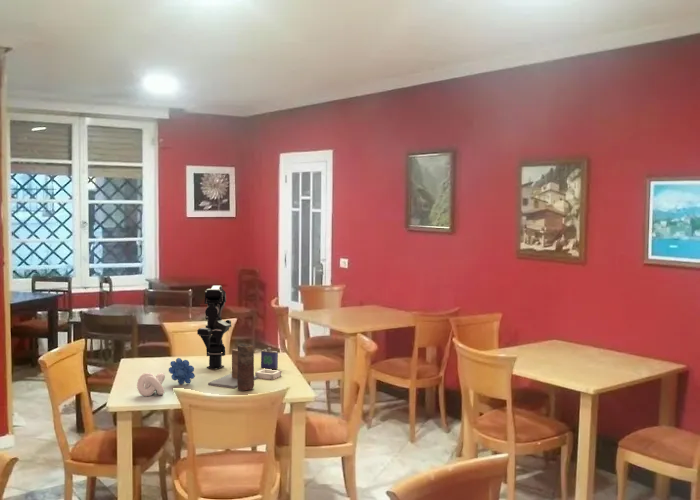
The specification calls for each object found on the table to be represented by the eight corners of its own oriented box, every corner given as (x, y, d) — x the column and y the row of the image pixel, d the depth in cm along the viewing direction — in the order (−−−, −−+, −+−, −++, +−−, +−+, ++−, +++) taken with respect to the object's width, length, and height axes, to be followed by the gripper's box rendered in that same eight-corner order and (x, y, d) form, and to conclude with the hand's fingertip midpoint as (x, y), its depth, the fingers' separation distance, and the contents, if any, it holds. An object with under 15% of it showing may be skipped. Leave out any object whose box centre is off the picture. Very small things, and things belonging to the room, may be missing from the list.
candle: (237, 386, 312) (238, 342, 311) (254, 386, 313) (254, 342, 312) (236, 391, 305) (236, 346, 303) (253, 391, 305) (253, 346, 304)
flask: (278, 368, 348) (278, 347, 347) (275, 370, 345) (276, 348, 345) (262, 367, 351) (262, 346, 351) (259, 368, 349) (259, 347, 348)
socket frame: (264, 373, 337) (264, 368, 337) (281, 375, 334) (281, 370, 333) (255, 377, 329) (255, 372, 329) (272, 379, 326) (272, 374, 326)
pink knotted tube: (149, 389, 306) (149, 369, 305) (173, 392, 302) (173, 371, 302) (133, 396, 295) (133, 375, 294) (158, 398, 291) (158, 377, 291)
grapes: (166, 386, 311) (166, 360, 310) (169, 382, 317) (169, 356, 317) (193, 386, 312) (193, 360, 311) (195, 382, 318) (195, 356, 318)
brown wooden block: (238, 375, 329) (238, 348, 328) (245, 377, 325) (245, 350, 324) (231, 377, 326) (231, 349, 325) (238, 379, 322) (238, 351, 322)
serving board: (232, 375, 333) (232, 373, 333) (257, 378, 328) (257, 376, 328) (208, 384, 315) (208, 382, 315) (234, 388, 310) (234, 386, 310)
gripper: (216, 318, 323) (216, 352, 324) (238, 313, 340) (238, 345, 341) (196, 317, 327) (196, 349, 328) (218, 311, 344) (218, 343, 345)
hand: (213, 346), depth 336 cm, fingers open, 9 cm apart
